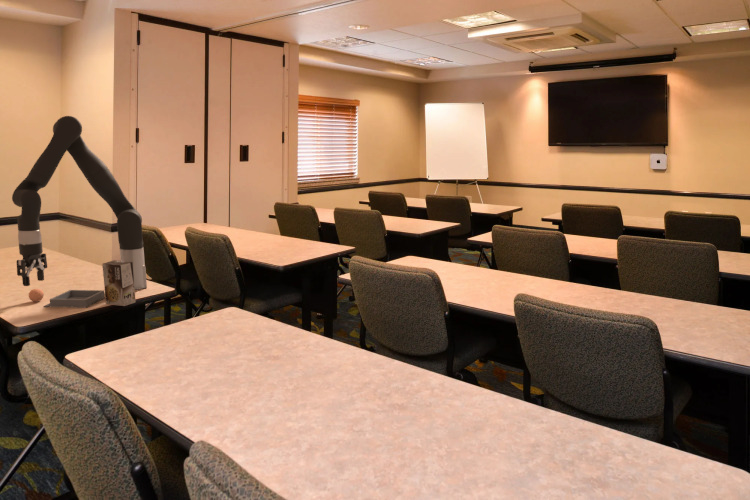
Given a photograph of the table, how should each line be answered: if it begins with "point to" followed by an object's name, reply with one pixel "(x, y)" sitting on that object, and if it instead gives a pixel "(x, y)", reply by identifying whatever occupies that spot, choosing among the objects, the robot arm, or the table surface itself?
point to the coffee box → (119, 282)
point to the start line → (47, 305)
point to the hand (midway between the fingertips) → (33, 283)
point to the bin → (77, 298)
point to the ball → (36, 295)
